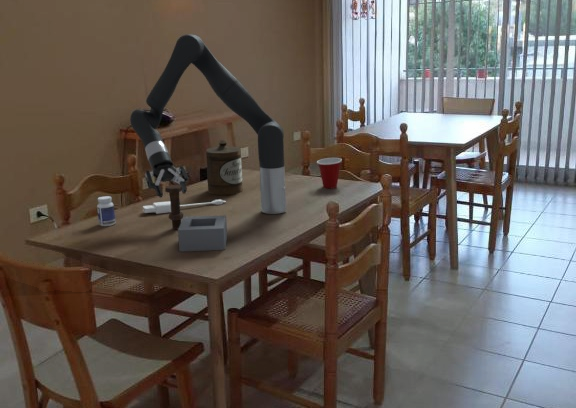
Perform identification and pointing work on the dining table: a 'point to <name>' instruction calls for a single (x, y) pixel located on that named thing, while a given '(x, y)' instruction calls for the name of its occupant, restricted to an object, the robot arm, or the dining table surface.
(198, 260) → the dining table surface
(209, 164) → the wooden container
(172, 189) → the bolt
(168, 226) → the dining table surface
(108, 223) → the pill bottle
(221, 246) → the holder
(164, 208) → the charging cable
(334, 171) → the plastic cup
